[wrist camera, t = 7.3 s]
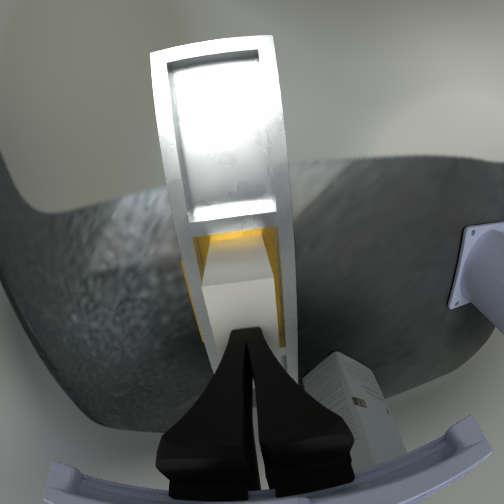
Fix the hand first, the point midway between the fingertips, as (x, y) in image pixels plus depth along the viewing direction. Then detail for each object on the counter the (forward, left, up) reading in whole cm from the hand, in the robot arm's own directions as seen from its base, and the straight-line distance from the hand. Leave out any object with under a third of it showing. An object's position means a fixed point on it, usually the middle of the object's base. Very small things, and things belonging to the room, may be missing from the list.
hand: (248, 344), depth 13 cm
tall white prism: (0, 0, -5) cm, 5 cm away
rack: (0, 0, -6) cm, 6 cm away
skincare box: (-7, +11, -6) cm, 14 cm away
